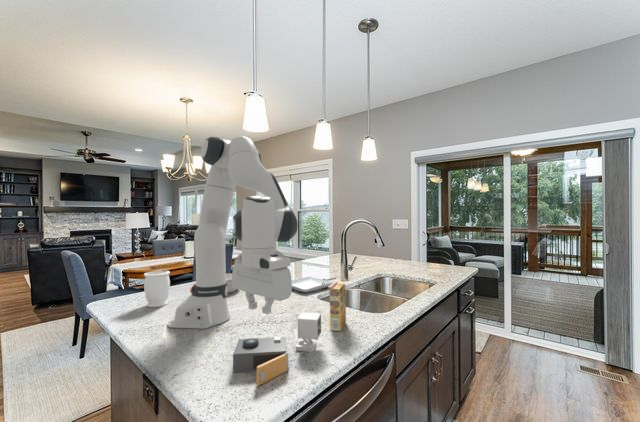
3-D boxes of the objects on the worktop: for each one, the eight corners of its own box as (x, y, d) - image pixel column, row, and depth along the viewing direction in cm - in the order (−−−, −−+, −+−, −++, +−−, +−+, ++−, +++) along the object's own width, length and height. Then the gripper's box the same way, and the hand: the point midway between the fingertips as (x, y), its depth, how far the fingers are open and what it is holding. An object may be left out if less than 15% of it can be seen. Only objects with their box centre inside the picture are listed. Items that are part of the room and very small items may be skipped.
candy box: (340, 332, 103) (340, 288, 103) (329, 330, 104) (329, 288, 104) (346, 322, 111) (346, 282, 111) (335, 321, 112) (335, 282, 112)
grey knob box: (233, 372, 77) (232, 350, 77) (239, 355, 86) (238, 336, 86) (285, 369, 79) (285, 347, 79) (286, 353, 88) (286, 333, 88)
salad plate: (280, 288, 163) (280, 281, 163) (309, 281, 177) (309, 275, 177) (304, 296, 147) (304, 289, 147) (334, 288, 162) (334, 282, 162)
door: (259, 387, 71) (259, 368, 71) (256, 384, 72) (256, 366, 72) (290, 371, 78) (290, 353, 78) (286, 368, 79) (286, 352, 79)
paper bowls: (236, 294, 149) (236, 279, 149) (206, 294, 149) (206, 279, 149) (244, 287, 164) (244, 273, 164) (217, 287, 164) (217, 273, 164)
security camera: (317, 353, 87) (317, 320, 87) (295, 351, 89) (294, 318, 89) (321, 343, 94) (321, 312, 94) (300, 341, 95) (300, 311, 95)
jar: (138, 306, 131) (138, 273, 131) (159, 300, 141) (158, 269, 141) (155, 309, 127) (155, 275, 127) (175, 302, 137) (174, 271, 137)
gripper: (225, 255, 79) (226, 306, 79) (276, 263, 67) (277, 323, 67) (244, 253, 84) (245, 300, 84) (295, 260, 71) (296, 315, 71)
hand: (259, 310), depth 75 cm, fingers open, 4 cm apart
